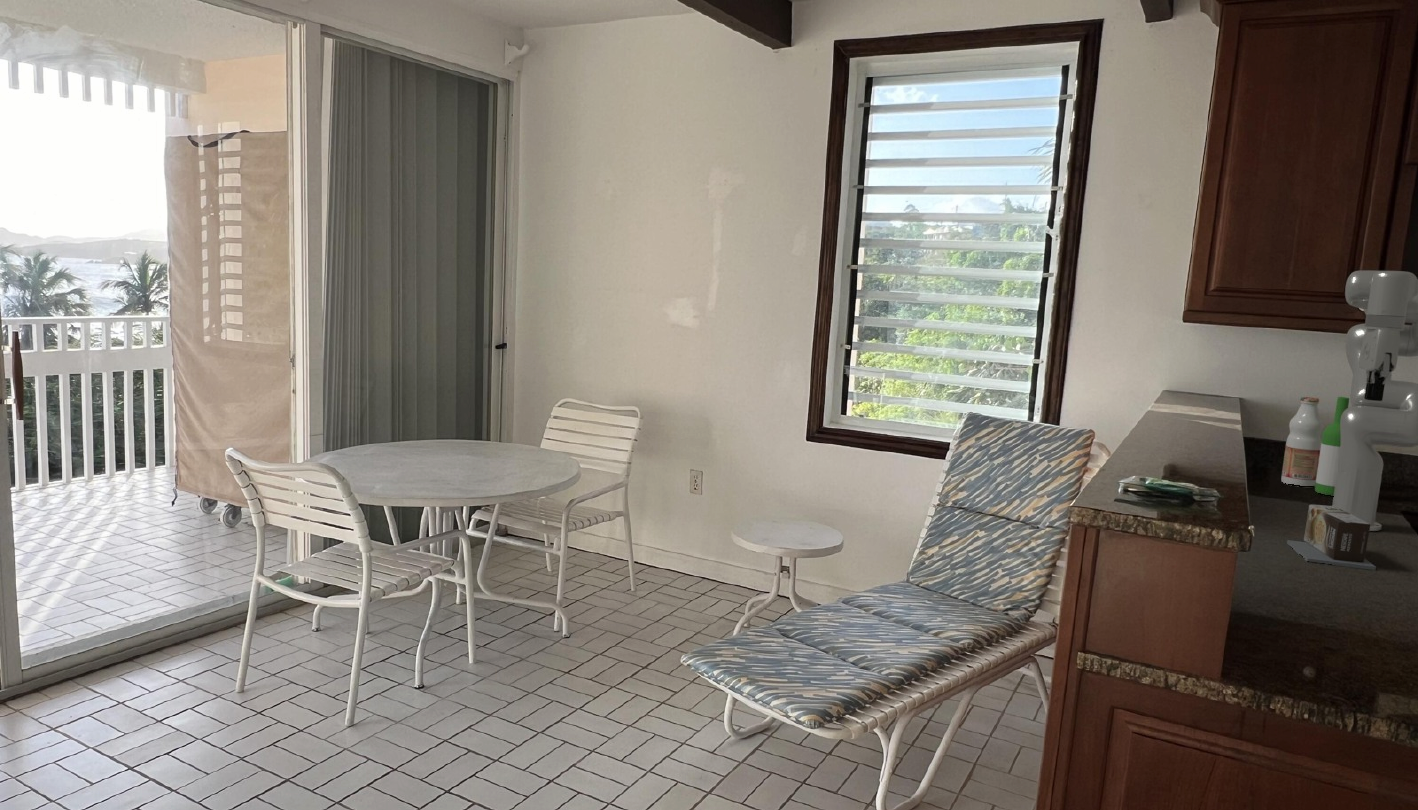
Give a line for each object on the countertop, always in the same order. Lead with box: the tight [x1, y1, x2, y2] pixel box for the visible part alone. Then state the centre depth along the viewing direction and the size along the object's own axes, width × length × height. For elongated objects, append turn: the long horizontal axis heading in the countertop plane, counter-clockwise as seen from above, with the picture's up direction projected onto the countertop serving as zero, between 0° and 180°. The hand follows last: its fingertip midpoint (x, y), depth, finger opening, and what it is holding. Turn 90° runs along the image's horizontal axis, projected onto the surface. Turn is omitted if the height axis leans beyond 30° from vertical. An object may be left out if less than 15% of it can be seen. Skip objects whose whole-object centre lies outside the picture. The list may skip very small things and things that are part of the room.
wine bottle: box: [1314, 396, 1350, 496], centre depth 275 cm, size 8×8×30 cm
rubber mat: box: [1286, 539, 1377, 571], centre depth 208 cm, size 16×13×1 cm
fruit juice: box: [1280, 396, 1324, 487], centre depth 289 cm, size 9×9×28 cm
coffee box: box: [1303, 504, 1370, 562], centre depth 209 cm, size 9×6×16 cm
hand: (1373, 400), depth 218 cm, fingers closed
